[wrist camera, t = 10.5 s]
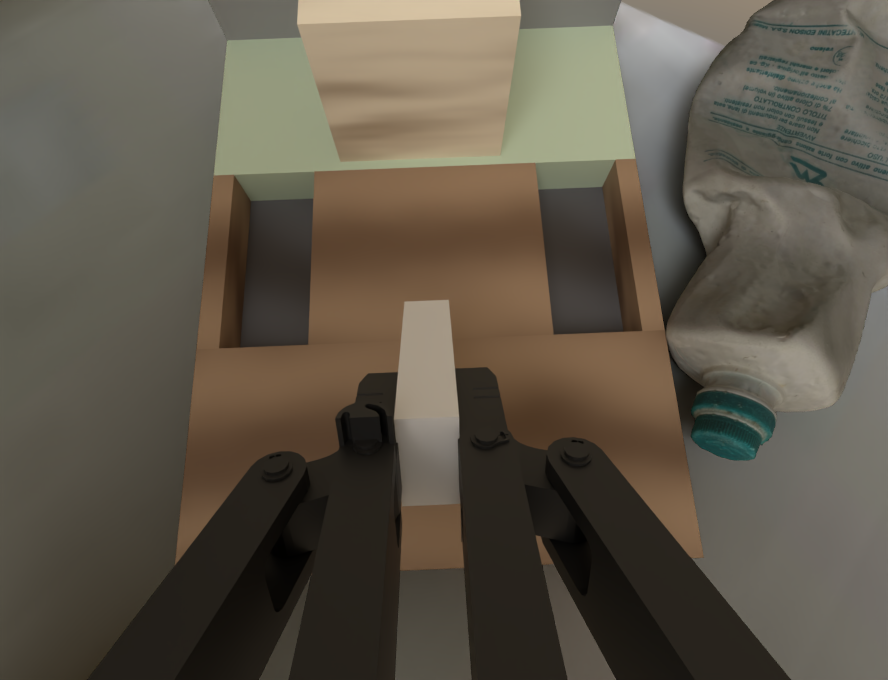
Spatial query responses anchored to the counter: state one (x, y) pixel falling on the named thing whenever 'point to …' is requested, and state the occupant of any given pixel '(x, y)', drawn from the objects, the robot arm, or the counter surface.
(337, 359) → the box
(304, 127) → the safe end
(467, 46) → the birch block
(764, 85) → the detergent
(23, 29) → the counter surface
